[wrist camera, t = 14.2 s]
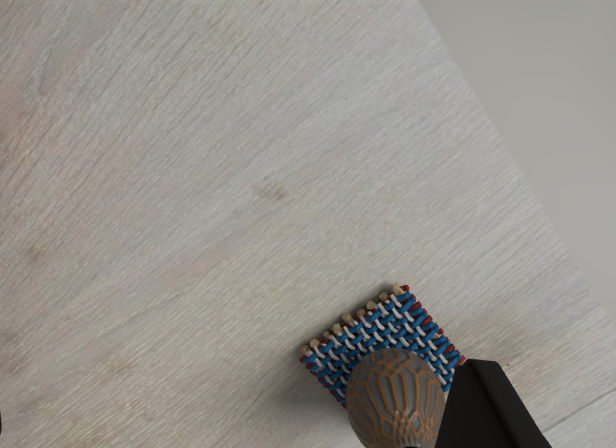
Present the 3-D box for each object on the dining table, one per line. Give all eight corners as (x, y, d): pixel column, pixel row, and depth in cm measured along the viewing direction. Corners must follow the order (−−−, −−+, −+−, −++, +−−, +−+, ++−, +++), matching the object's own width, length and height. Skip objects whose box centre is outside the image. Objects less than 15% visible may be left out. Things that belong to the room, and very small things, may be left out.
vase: (390, 316, 37) (415, 393, 29) (449, 371, 38) (488, 459, 30) (324, 371, 38) (329, 459, 30) (383, 421, 40) (403, 518, 32)
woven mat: (292, 347, 40) (292, 362, 38) (400, 273, 38) (405, 285, 36) (367, 428, 43) (370, 445, 41) (472, 364, 41) (480, 379, 39)
